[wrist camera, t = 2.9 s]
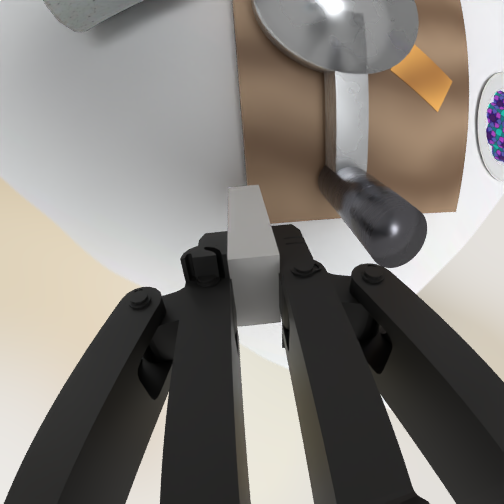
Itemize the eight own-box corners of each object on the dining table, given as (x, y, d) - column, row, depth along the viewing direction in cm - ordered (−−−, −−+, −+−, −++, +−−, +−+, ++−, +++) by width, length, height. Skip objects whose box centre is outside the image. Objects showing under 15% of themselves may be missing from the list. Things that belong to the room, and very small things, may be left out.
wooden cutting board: (227, -60, 10) (227, -72, 8) (441, -20, 11) (455, -24, 9) (249, 213, 21) (251, 226, 20) (443, 202, 22) (456, 212, 20)
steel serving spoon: (245, -57, 9) (256, -127, 2) (392, -37, 9) (461, -69, 2) (265, 206, 19) (286, 280, 12) (399, 199, 19) (466, 256, 12)
